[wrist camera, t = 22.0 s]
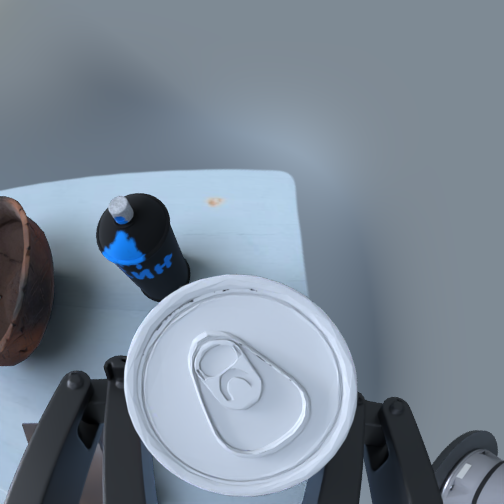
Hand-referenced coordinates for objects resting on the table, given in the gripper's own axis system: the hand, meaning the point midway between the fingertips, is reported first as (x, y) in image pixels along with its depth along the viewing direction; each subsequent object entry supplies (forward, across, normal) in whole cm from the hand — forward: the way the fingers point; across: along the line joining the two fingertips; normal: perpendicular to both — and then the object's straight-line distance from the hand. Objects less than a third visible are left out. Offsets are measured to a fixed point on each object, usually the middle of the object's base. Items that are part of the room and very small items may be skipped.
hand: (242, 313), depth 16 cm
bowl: (+18, +37, +17) cm, 45 cm away
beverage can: (+1, 0, +6) cm, 7 cm away
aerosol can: (+24, +12, +11) cm, 29 cm away
